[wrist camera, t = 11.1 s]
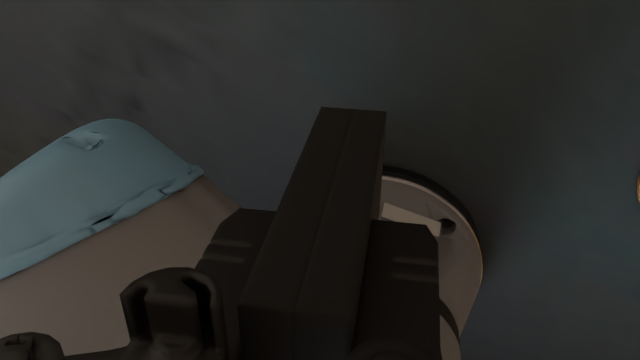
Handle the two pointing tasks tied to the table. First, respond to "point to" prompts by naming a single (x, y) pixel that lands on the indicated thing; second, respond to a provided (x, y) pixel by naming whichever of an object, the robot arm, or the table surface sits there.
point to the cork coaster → (638, 188)
